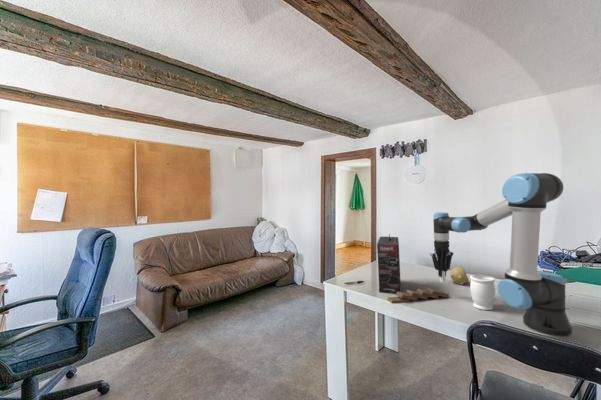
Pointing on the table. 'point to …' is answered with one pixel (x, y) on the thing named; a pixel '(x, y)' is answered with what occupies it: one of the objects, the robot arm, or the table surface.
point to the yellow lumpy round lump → (459, 275)
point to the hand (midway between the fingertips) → (442, 282)
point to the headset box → (388, 264)
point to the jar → (482, 291)
